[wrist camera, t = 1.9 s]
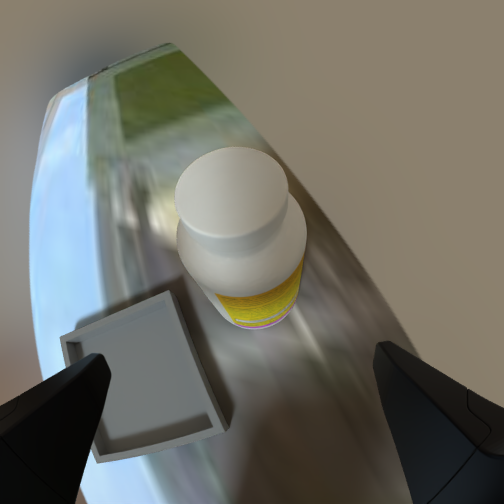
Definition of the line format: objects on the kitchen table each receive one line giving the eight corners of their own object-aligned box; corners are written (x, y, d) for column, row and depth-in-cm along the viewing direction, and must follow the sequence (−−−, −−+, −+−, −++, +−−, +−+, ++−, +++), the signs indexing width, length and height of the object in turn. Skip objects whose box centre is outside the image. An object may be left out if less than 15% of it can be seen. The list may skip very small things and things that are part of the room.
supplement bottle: (315, 284, 23) (346, 178, 11) (258, 348, 21) (233, 302, 10) (252, 235, 25) (229, 114, 14) (196, 292, 23) (123, 200, 12)
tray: (229, 428, 19) (225, 431, 17) (108, 460, 18) (96, 463, 16) (176, 296, 23) (169, 289, 22) (71, 340, 22) (59, 336, 21)
